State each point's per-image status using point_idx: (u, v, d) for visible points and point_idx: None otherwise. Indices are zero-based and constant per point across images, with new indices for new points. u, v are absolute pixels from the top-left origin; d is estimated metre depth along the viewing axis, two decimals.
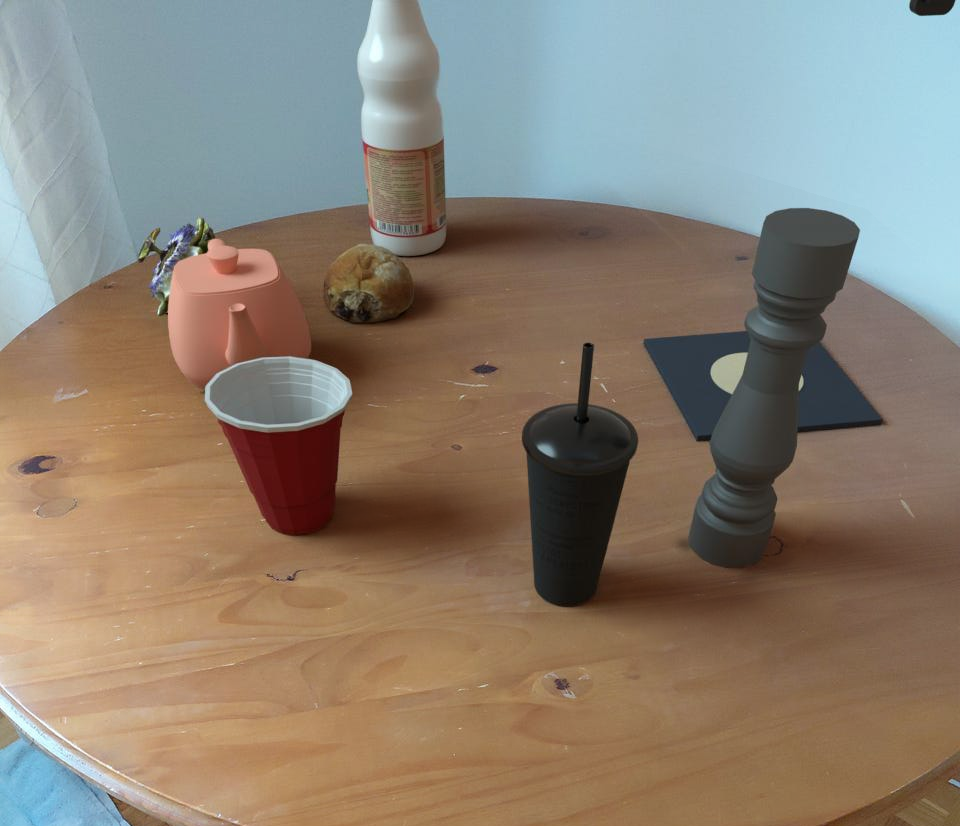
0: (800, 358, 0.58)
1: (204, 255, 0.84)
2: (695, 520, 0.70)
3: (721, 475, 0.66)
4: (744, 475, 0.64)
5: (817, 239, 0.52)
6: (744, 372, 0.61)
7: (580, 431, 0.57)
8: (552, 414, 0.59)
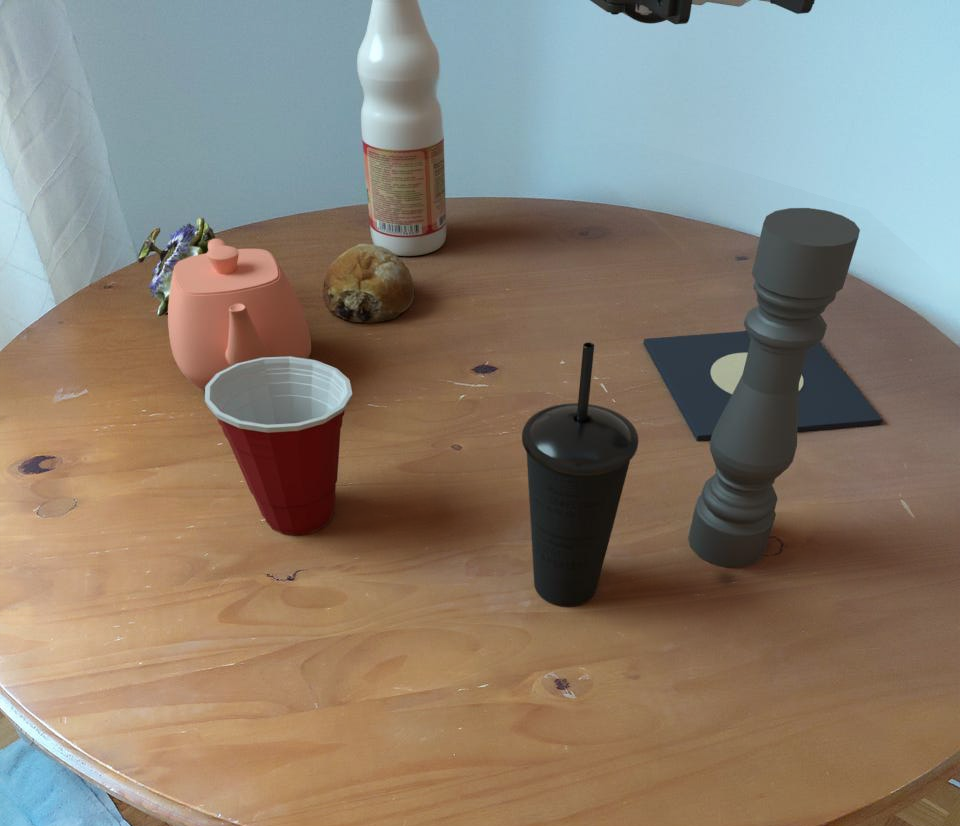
0: (800, 358, 0.58)
1: (204, 255, 0.84)
2: (695, 520, 0.70)
3: (721, 475, 0.66)
4: (744, 475, 0.64)
5: (817, 239, 0.52)
6: (744, 372, 0.61)
7: (580, 431, 0.57)
8: (552, 414, 0.59)
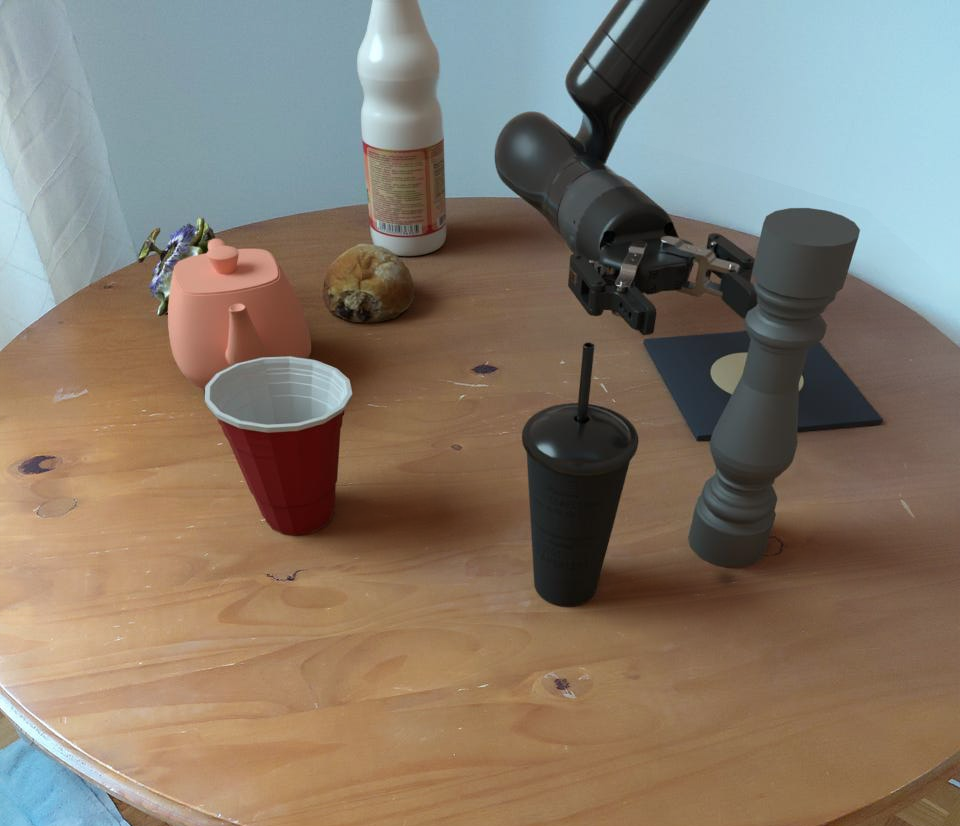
0: (800, 358, 0.58)
1: (204, 255, 0.84)
2: (695, 520, 0.70)
3: (721, 475, 0.66)
4: (744, 475, 0.64)
5: (817, 239, 0.52)
6: (744, 372, 0.61)
7: (580, 431, 0.57)
8: (552, 414, 0.59)
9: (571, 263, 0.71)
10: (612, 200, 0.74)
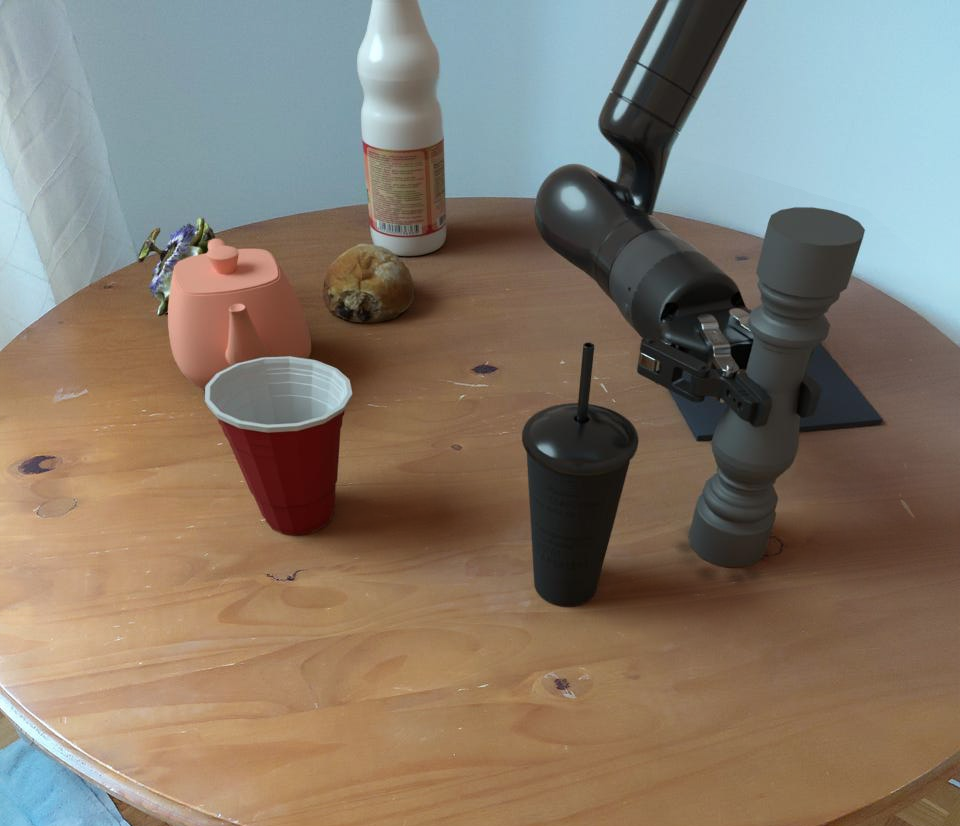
0: (803, 357, 0.58)
1: (204, 255, 0.84)
2: (695, 519, 0.70)
3: (722, 474, 0.66)
4: (746, 475, 0.64)
5: (822, 238, 0.52)
6: (747, 371, 0.61)
7: (580, 431, 0.57)
8: (552, 414, 0.59)
9: (646, 350, 0.63)
10: (674, 267, 0.67)
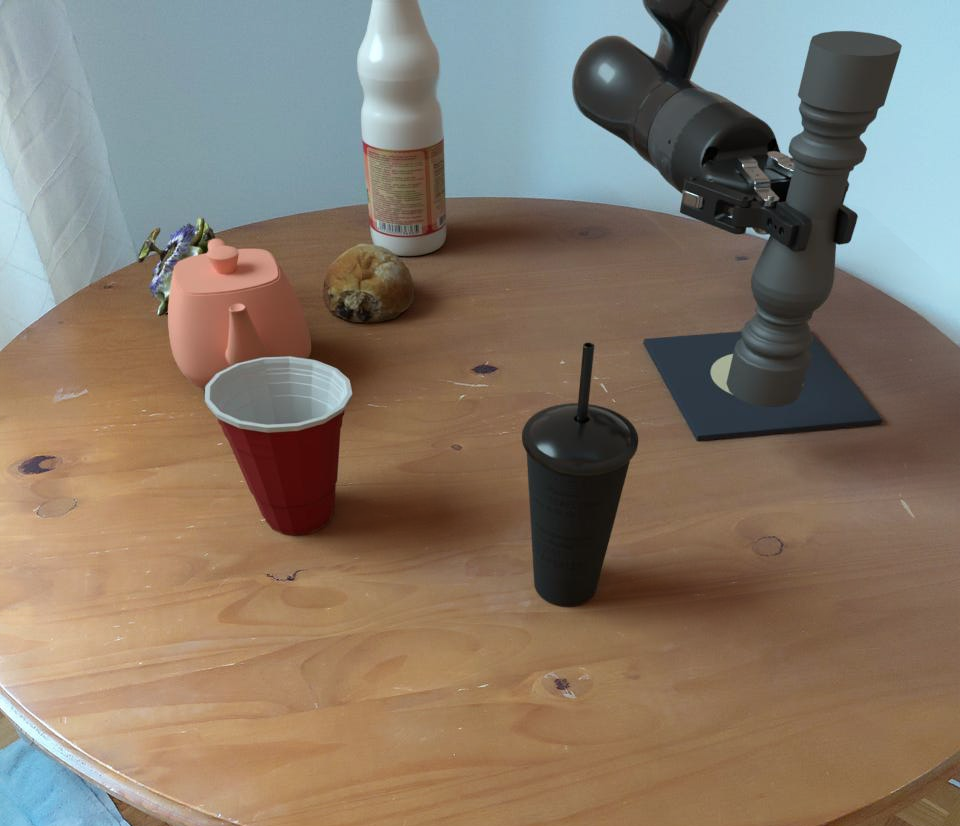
0: (841, 180, 0.62)
1: (204, 255, 0.84)
2: (734, 362, 0.73)
3: (761, 311, 0.70)
4: (785, 306, 0.67)
5: (862, 51, 0.56)
6: (787, 201, 0.64)
7: (580, 431, 0.57)
8: (552, 414, 0.59)
9: (690, 187, 0.67)
10: (713, 115, 0.70)
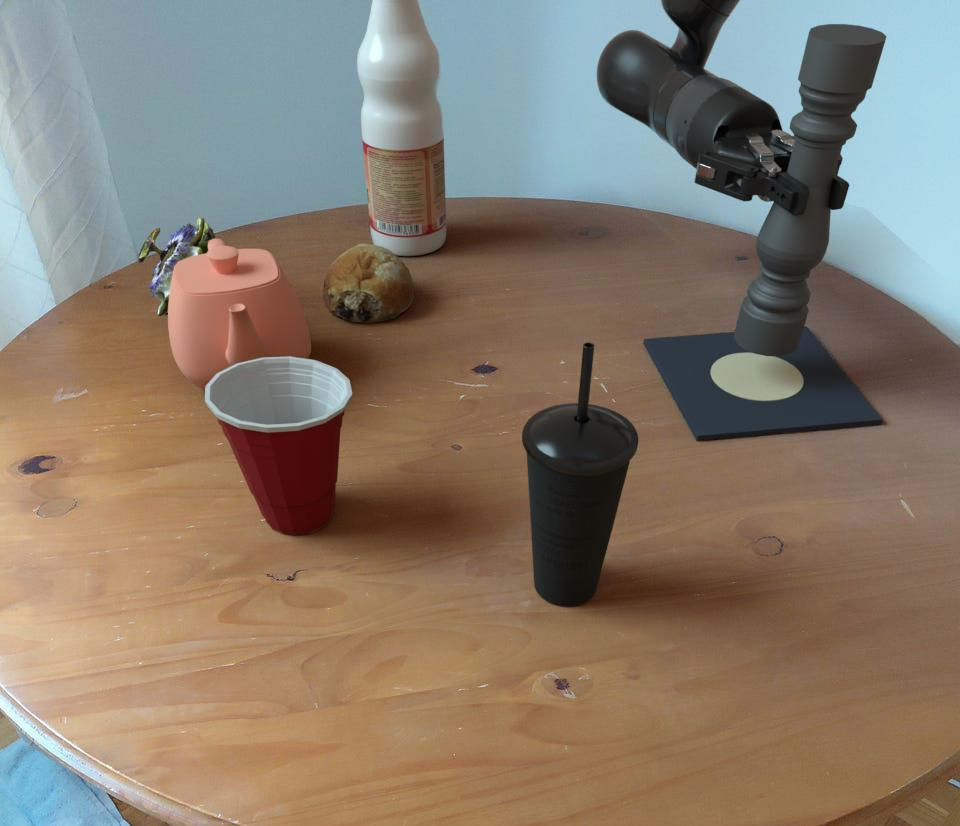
0: (835, 153, 0.72)
1: (204, 255, 0.84)
2: (741, 316, 0.83)
3: (765, 270, 0.80)
4: (786, 264, 0.77)
5: (852, 41, 0.66)
6: (788, 171, 0.74)
7: (580, 431, 0.57)
8: (552, 414, 0.59)
9: (704, 160, 0.77)
10: (724, 98, 0.80)
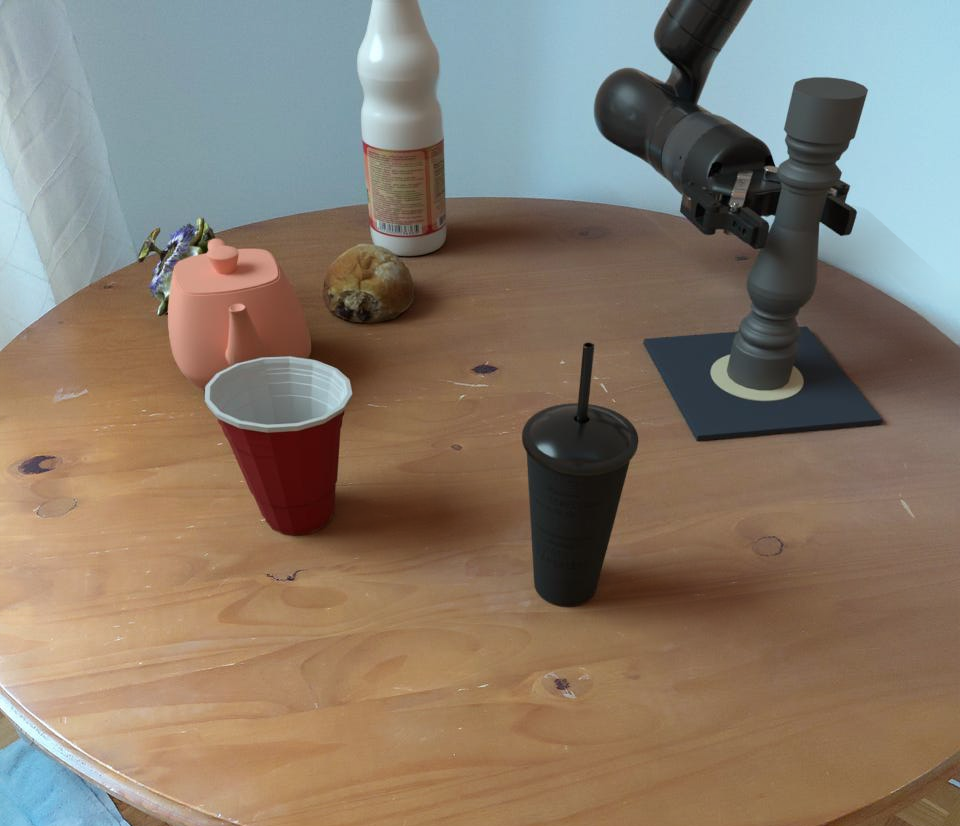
0: (821, 199, 0.74)
1: (204, 255, 0.84)
2: (733, 352, 0.86)
3: (755, 308, 0.83)
4: (775, 304, 0.80)
5: (835, 95, 0.69)
6: (776, 215, 0.77)
7: (580, 431, 0.57)
8: (552, 414, 0.59)
9: (685, 190, 0.80)
10: (718, 135, 0.82)
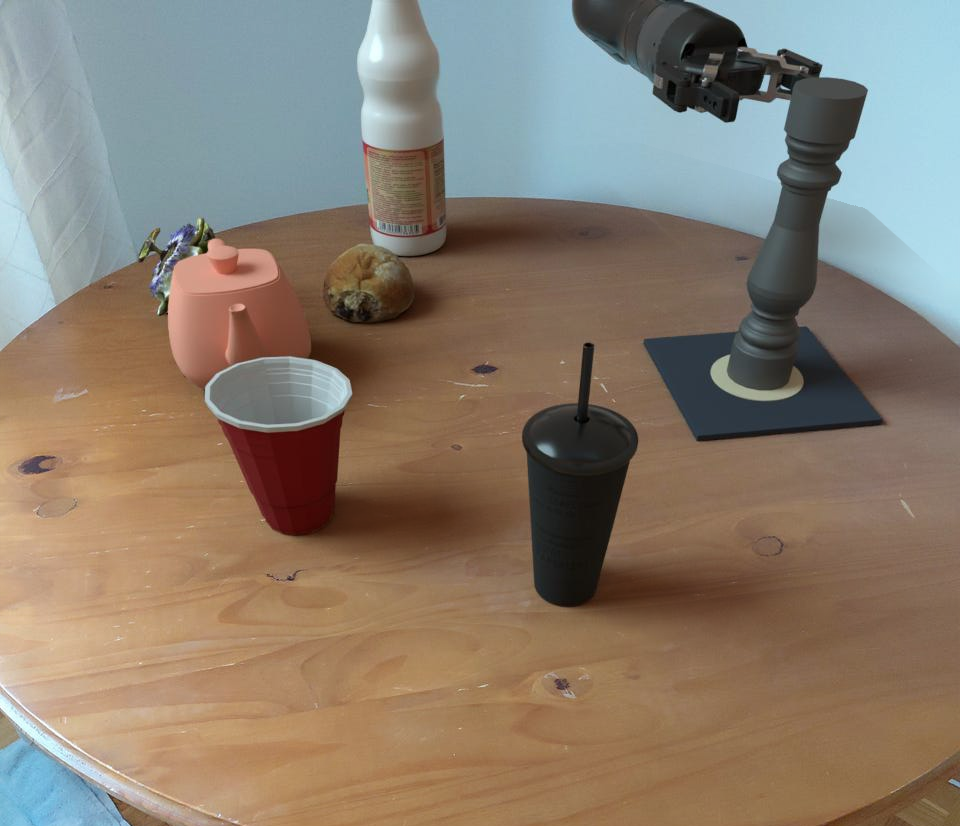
0: (821, 199, 0.74)
1: (204, 255, 0.84)
2: (733, 352, 0.86)
3: (755, 308, 0.83)
4: (775, 304, 0.80)
5: (835, 95, 0.69)
6: (776, 215, 0.77)
7: (580, 431, 0.57)
8: (552, 414, 0.59)
9: (657, 69, 0.80)
10: (691, 18, 0.82)
